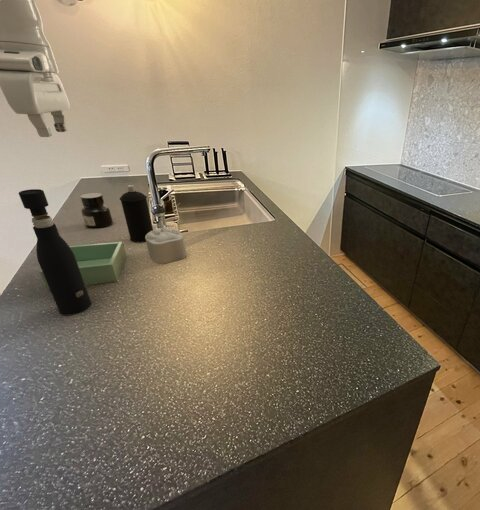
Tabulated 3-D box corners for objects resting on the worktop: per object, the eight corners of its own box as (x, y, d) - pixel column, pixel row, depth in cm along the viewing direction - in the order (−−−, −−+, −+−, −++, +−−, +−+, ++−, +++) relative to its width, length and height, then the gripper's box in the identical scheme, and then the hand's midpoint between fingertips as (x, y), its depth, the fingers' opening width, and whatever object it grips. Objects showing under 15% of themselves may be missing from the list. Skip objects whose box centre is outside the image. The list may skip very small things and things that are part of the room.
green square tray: (47, 289, 83) (39, 272, 80) (66, 262, 96) (60, 246, 93) (117, 281, 89) (112, 264, 87) (126, 256, 102) (122, 241, 100)
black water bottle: (64, 301, 79) (18, 187, 66) (94, 298, 81) (56, 187, 68) (54, 317, 74) (2, 196, 60) (87, 312, 76) (43, 195, 63)
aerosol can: (153, 241, 113) (142, 188, 104) (127, 243, 110) (113, 189, 101) (156, 233, 120) (146, 182, 111) (132, 234, 117) (119, 183, 108)
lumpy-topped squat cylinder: (156, 265, 98) (150, 241, 95) (144, 251, 107) (139, 227, 103) (189, 257, 105) (185, 233, 101) (176, 243, 113) (172, 222, 109)
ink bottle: (84, 222, 124) (75, 193, 118) (110, 218, 129) (102, 191, 124) (87, 230, 117) (78, 200, 112) (115, 226, 123) (107, 197, 118)
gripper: (31, 64, 70) (54, 129, 76) (-22, 56, 53) (14, 140, 60) (65, 66, 72) (85, 129, 78) (25, 59, 55) (55, 140, 62)
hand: (54, 134), depth 69 cm, fingers open, 8 cm apart
